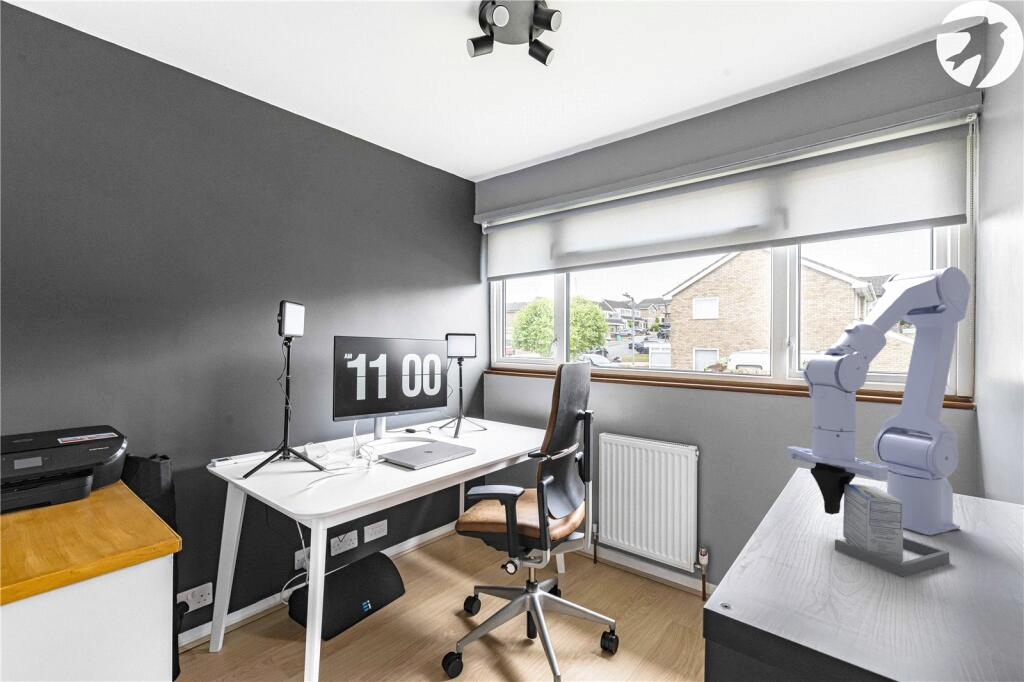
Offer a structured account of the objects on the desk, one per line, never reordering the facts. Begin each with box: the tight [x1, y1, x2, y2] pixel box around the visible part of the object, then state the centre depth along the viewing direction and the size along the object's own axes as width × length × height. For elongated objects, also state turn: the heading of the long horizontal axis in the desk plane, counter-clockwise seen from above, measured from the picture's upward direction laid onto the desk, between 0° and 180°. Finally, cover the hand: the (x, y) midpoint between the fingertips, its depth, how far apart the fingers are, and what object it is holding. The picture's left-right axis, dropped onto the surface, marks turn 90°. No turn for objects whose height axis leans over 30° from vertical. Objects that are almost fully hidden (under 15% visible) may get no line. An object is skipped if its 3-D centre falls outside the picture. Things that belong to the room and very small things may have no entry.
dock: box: [834, 536, 950, 578], centre depth 66 cm, size 11×9×2 cm
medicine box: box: [842, 483, 904, 563], centre depth 68 cm, size 8×4×9 cm, turn 165°
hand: (832, 513), depth 73 cm, fingers closed
